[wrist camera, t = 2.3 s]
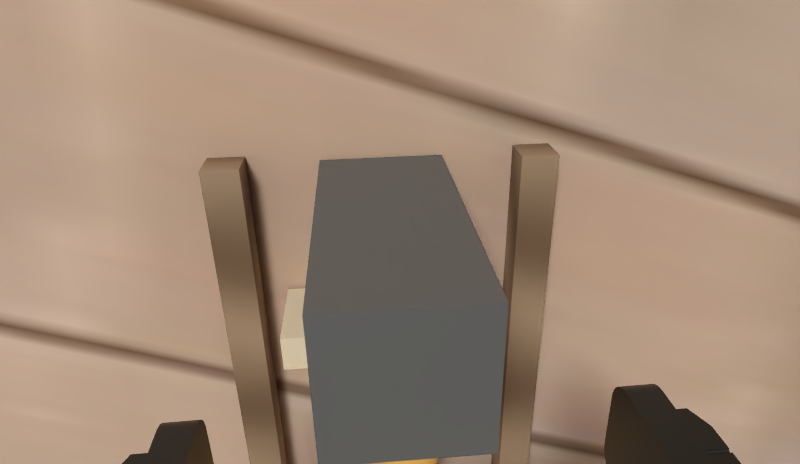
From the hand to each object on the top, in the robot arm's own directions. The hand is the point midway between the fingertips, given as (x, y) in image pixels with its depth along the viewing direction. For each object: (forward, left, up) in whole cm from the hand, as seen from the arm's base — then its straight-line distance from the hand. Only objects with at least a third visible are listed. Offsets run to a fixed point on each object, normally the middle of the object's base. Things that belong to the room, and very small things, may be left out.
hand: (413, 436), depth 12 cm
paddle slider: (0, 0, -10) cm, 10 cm away
